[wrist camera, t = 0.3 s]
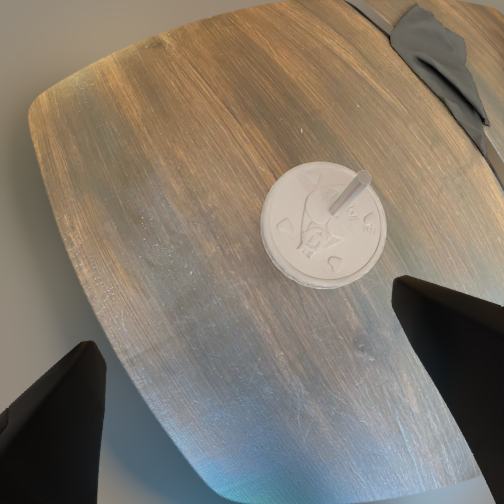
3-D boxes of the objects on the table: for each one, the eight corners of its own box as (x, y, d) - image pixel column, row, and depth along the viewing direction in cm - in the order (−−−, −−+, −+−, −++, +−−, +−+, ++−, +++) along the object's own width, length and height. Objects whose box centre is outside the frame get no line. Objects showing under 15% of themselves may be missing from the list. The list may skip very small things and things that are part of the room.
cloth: (381, -7, 31) (385, -18, 29) (459, 26, 31) (465, 17, 28) (396, 122, 27) (405, 110, 24) (496, 162, 26) (507, 155, 24)
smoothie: (351, 245, 24) (453, 181, 11) (306, 312, 24) (381, 319, 10) (287, 197, 25) (327, 86, 11) (238, 261, 24) (226, 203, 10)
